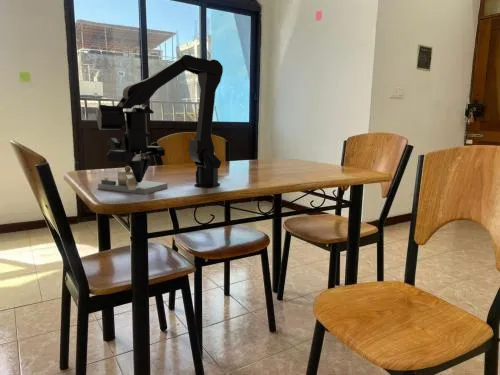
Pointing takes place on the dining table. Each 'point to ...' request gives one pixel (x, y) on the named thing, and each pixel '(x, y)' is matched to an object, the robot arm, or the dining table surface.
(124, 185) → the level stand
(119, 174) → the cream stepped block
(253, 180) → the dining table surface
